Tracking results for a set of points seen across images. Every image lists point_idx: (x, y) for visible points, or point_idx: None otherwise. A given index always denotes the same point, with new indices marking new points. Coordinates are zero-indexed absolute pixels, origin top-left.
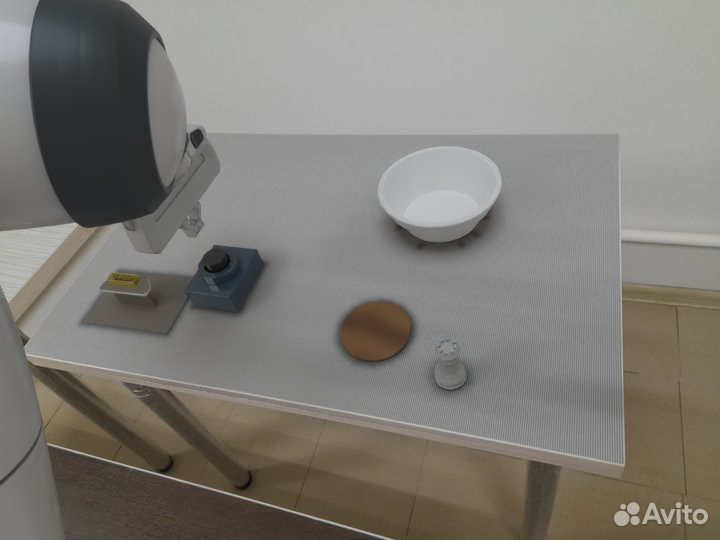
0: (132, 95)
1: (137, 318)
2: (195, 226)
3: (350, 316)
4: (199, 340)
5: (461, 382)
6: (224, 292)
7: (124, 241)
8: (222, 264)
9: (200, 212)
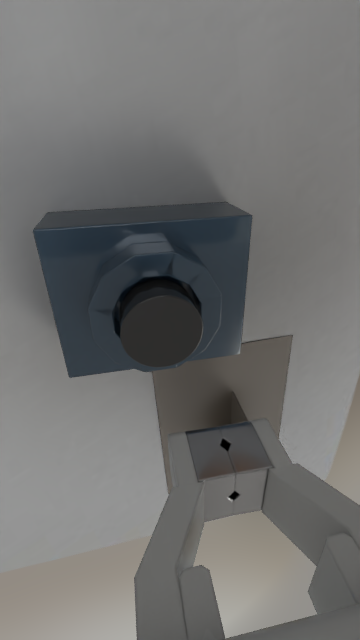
0: None
1: (261, 405)
2: (251, 463)
3: None
4: (307, 257)
5: None
6: (235, 241)
7: (98, 532)
8: (174, 289)
9: (166, 516)
